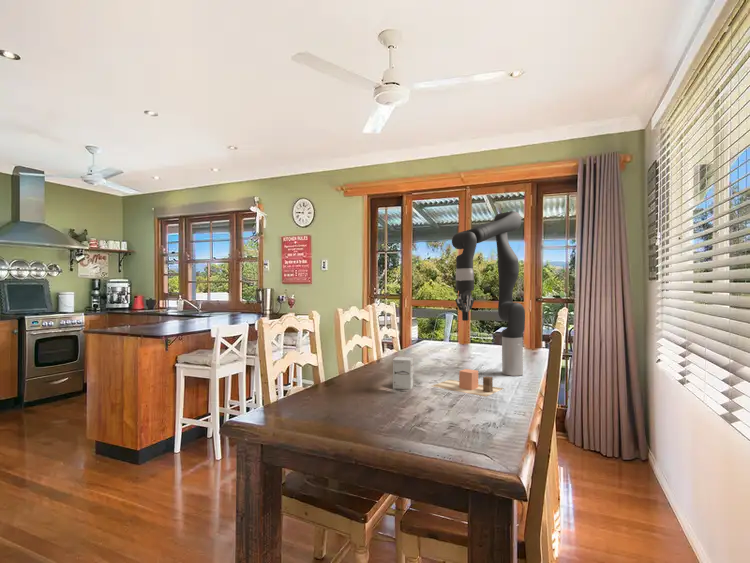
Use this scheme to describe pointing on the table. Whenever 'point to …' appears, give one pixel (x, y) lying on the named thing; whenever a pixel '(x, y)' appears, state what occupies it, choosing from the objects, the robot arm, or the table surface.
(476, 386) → the salmon orange block
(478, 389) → the board
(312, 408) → the table surface
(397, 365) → the supplement box
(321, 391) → the table surface
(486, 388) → the walnut post
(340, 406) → the table surface
